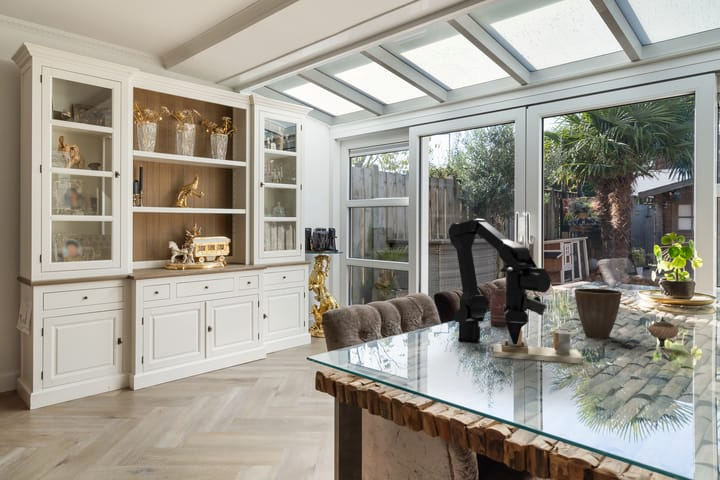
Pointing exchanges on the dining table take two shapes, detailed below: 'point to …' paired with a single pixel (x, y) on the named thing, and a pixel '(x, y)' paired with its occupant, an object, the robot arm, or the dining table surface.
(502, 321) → the brown rounded cylinder
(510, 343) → the white wood-topped block
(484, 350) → the dining table surface
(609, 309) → the plant pot
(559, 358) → the cream wooden stand
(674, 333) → the lidded footed bowl
